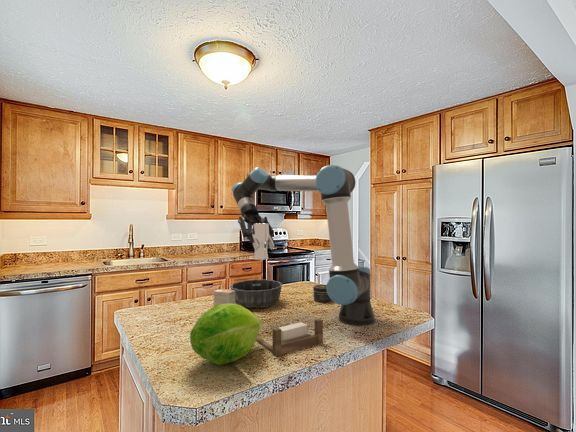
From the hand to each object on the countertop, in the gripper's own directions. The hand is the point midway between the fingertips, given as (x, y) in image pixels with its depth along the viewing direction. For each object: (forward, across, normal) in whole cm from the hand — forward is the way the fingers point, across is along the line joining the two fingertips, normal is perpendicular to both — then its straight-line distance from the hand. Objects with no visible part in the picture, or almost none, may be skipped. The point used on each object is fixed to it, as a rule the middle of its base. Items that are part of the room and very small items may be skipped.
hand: (265, 247), depth 129 cm
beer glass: (+1, 0, -6) cm, 6 cm away
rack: (+36, +3, -8) cm, 37 cm away
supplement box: (+14, +13, -31) cm, 36 cm away
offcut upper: (+37, +3, -1) cm, 37 cm away
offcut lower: (+39, +3, -3) cm, 40 cm away
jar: (+11, -43, -34) cm, 56 cm away
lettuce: (+38, +24, -6) cm, 46 cm away
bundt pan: (+2, -11, -43) cm, 45 cm away
